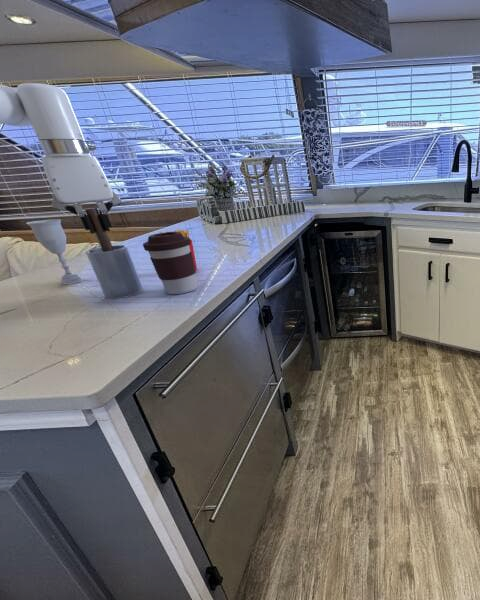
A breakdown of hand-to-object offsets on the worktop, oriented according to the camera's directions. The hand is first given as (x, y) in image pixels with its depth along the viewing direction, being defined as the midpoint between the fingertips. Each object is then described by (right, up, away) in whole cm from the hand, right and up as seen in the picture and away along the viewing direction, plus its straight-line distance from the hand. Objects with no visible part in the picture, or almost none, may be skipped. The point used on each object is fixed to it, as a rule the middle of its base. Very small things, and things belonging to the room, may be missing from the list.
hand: (100, 231), depth 79 cm
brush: (+1, -11, +5) cm, 12 cm away
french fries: (+6, -8, +22) cm, 24 cm away
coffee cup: (+16, -15, +7) cm, 23 cm away
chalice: (-25, -12, +17) cm, 32 cm away
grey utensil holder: (+1, -15, +6) cm, 17 cm away
